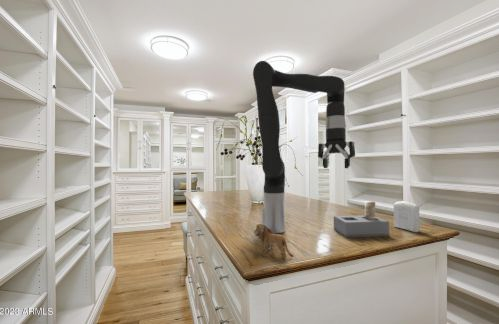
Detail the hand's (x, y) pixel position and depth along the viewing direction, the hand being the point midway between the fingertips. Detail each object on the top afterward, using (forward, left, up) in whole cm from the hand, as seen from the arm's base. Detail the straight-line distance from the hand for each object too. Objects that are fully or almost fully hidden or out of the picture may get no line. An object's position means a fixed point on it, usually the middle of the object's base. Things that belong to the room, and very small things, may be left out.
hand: (335, 168), depth 95 cm
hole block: (+7, +12, -28) cm, 31 cm away
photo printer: (+24, +28, -28) cm, 46 cm away
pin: (+11, +15, -27) cm, 32 cm away
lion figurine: (-15, -28, -28) cm, 43 cm away
